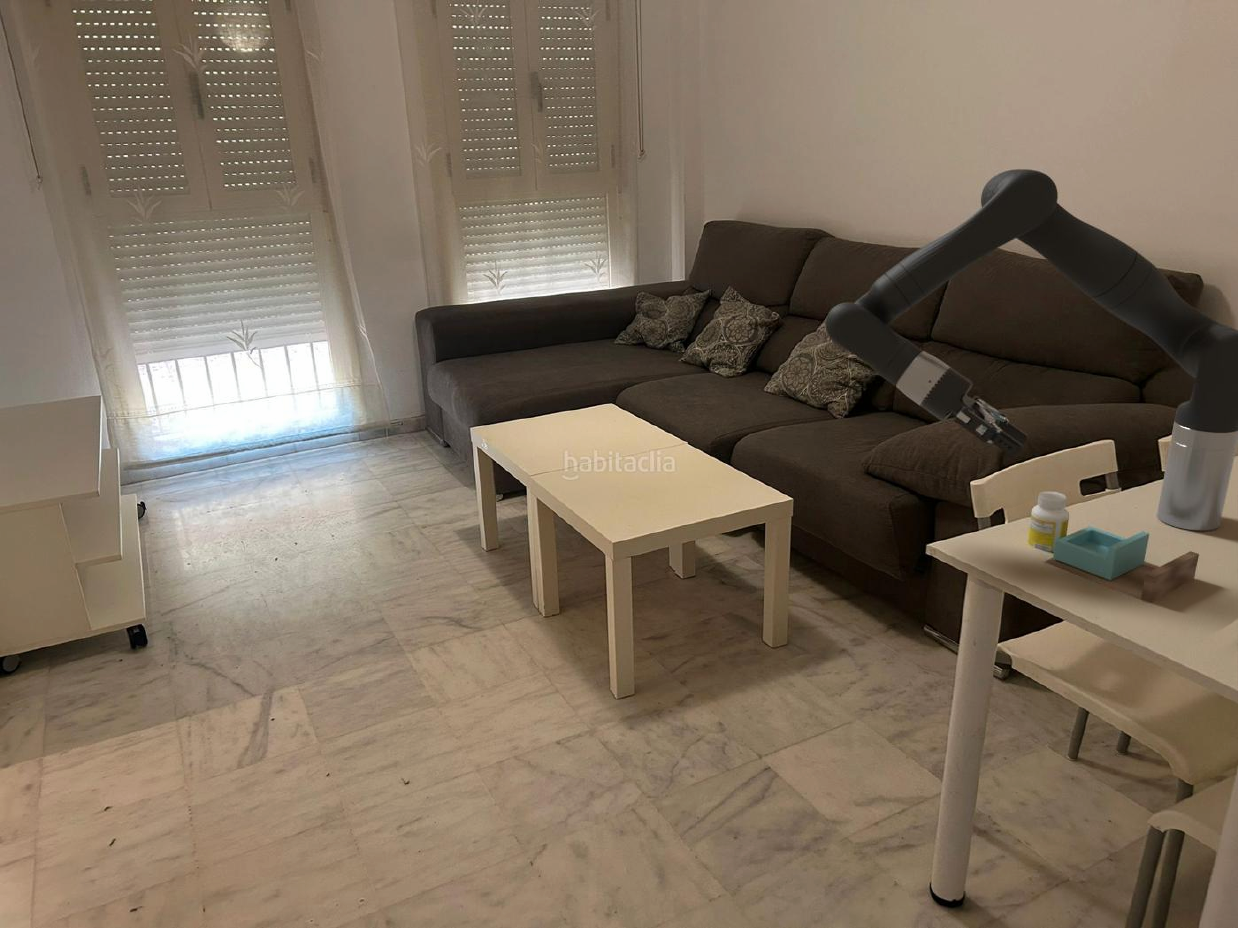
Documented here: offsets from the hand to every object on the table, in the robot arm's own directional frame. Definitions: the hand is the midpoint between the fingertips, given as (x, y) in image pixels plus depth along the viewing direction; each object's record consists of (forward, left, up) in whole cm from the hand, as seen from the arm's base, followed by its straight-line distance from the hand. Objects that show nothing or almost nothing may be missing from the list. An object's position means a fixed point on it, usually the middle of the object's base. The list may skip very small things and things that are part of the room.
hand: (1021, 446), depth 137 cm
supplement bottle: (-5, +3, -18) cm, 19 cm away
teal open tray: (-5, +12, -17) cm, 21 cm away
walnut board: (-5, +15, -18) cm, 24 cm away
